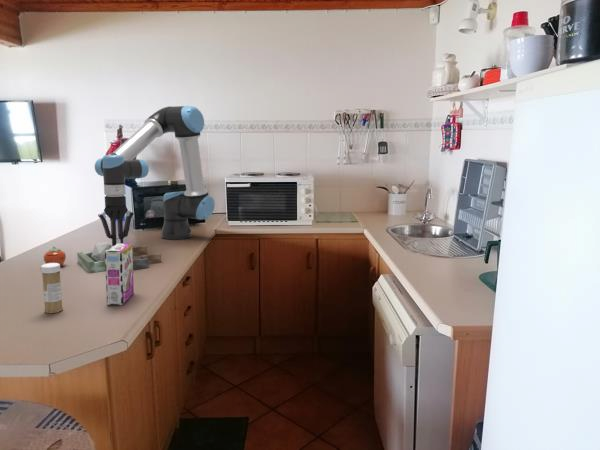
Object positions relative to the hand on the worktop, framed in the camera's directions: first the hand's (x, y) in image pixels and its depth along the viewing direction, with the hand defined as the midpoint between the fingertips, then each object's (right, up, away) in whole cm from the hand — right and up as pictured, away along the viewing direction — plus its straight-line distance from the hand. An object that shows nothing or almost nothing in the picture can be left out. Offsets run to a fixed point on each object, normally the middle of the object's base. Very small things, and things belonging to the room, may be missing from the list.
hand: (118, 254), depth 173 cm
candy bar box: (+18, -11, -40) cm, 45 cm away
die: (-6, -3, +1) cm, 7 cm away
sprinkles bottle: (+3, -12, -50) cm, 52 cm away
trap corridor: (0, -3, +1) cm, 3 cm away
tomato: (-21, -4, -7) cm, 22 cm away
